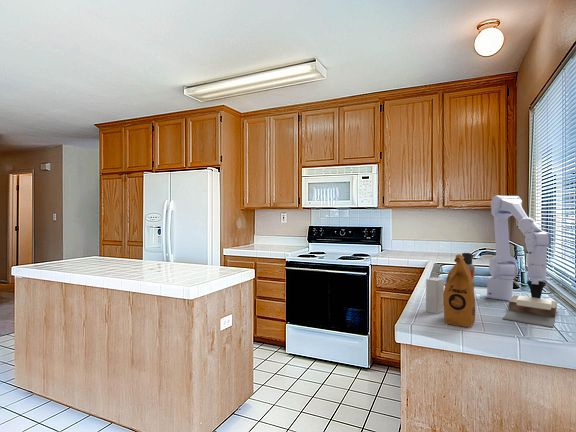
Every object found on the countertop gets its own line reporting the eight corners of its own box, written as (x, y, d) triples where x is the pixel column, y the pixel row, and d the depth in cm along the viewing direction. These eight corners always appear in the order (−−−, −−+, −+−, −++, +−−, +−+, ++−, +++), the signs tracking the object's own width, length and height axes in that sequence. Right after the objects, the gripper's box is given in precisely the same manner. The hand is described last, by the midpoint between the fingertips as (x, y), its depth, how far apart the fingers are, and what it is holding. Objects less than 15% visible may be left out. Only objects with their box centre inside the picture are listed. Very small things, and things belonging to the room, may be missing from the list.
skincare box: (432, 308, 137) (433, 277, 137) (443, 311, 134) (444, 278, 134) (425, 311, 133) (425, 278, 133) (436, 314, 130) (437, 280, 130)
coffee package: (439, 324, 118) (441, 256, 118) (444, 315, 129) (446, 253, 129) (473, 329, 113) (475, 259, 113) (476, 319, 124) (477, 255, 124)
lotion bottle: (458, 301, 149) (460, 252, 149) (457, 298, 154) (459, 251, 154) (474, 303, 147) (475, 253, 147) (472, 300, 152) (474, 252, 152)
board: (508, 310, 137) (509, 301, 136) (513, 304, 147) (513, 295, 147) (555, 318, 128) (555, 308, 128) (556, 310, 138) (556, 301, 138)
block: (516, 305, 132) (516, 299, 132) (518, 300, 137) (519, 295, 137) (550, 310, 126) (550, 304, 125) (551, 305, 131) (551, 299, 131)
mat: (502, 319, 125) (502, 318, 125) (508, 310, 136) (508, 309, 136) (553, 327, 116) (553, 326, 116) (555, 318, 127) (555, 317, 127)
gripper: (549, 267, 126) (548, 306, 127) (551, 263, 138) (550, 299, 138) (525, 265, 131) (524, 303, 131) (529, 261, 142) (528, 296, 142)
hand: (535, 301), depth 135 cm, fingers closed
